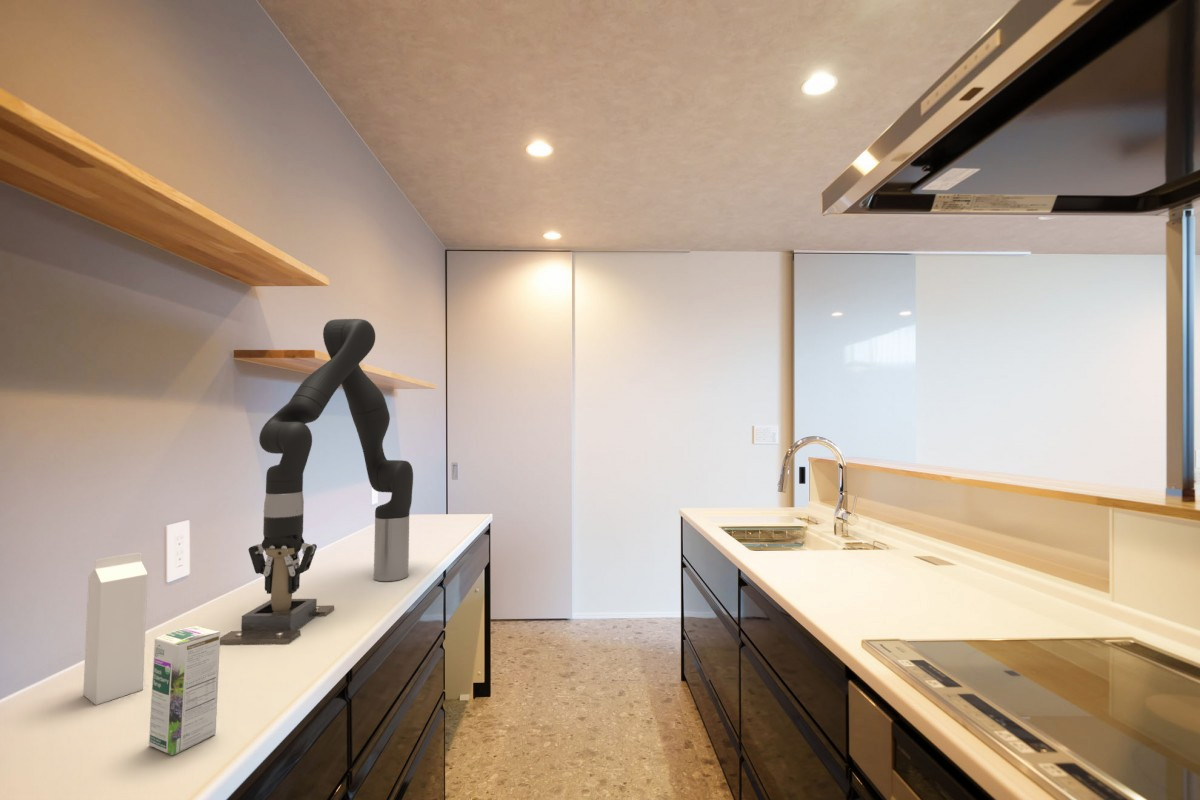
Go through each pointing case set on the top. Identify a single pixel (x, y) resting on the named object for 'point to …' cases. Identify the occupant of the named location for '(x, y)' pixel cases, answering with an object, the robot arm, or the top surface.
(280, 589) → the handle
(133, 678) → the milk
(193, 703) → the syrup box
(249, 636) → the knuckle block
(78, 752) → the top surface
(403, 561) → the robot arm
